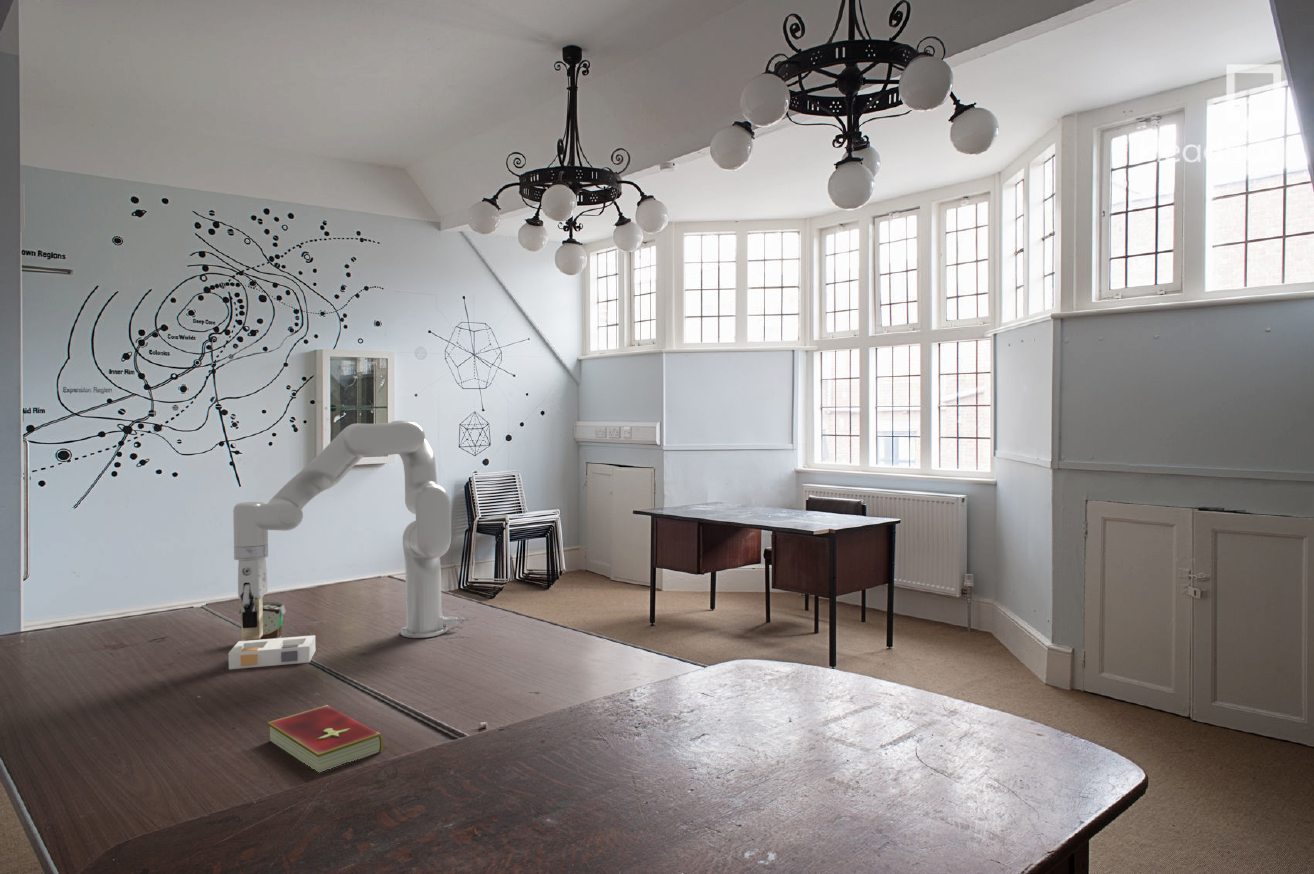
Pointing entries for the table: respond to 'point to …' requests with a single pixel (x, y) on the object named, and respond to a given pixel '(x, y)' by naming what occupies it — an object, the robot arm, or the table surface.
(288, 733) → the hardcover book
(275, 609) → the food container
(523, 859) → the table surface
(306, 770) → the table surface
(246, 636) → the plug
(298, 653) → the socket block
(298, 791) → the table surface
